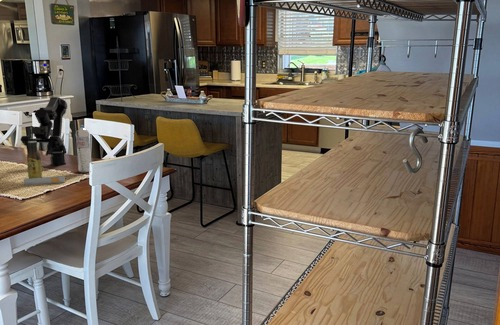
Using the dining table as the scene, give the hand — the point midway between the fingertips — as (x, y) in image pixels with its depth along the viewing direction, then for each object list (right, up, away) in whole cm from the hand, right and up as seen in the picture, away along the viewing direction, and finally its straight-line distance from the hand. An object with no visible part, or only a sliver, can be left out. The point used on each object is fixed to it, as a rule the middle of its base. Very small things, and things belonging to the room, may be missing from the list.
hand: (37, 154), depth 222 cm
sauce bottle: (0, -13, -1) cm, 13 cm away
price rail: (+7, -14, -7) cm, 17 cm away
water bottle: (+18, -9, +17) cm, 26 cm away
